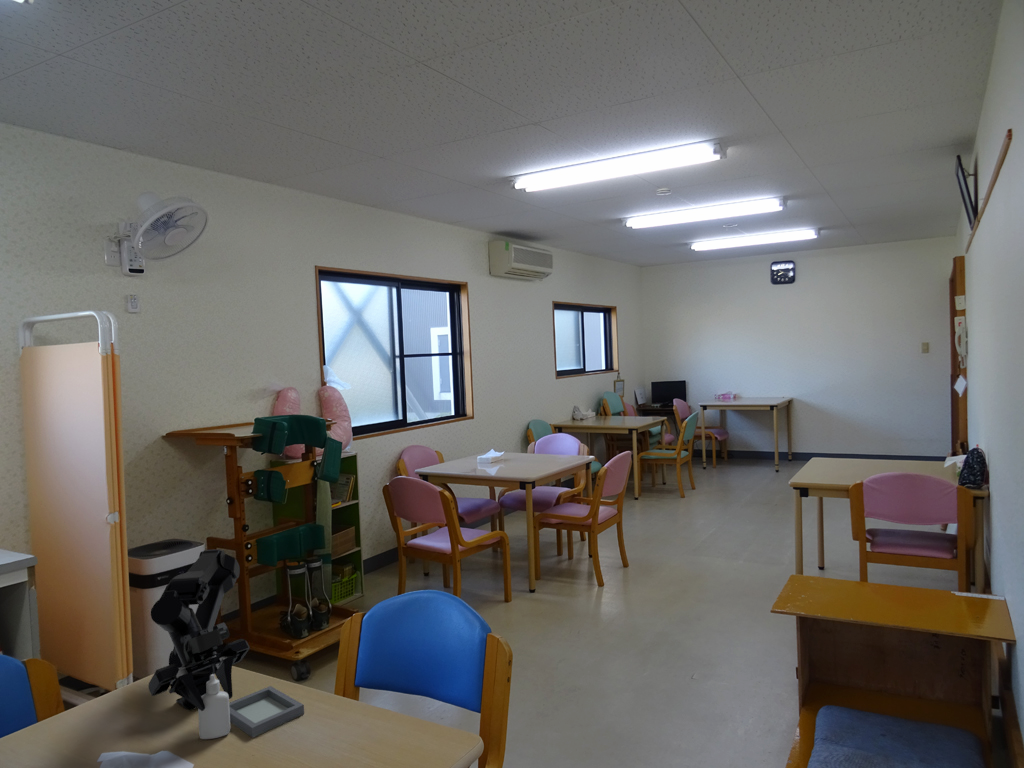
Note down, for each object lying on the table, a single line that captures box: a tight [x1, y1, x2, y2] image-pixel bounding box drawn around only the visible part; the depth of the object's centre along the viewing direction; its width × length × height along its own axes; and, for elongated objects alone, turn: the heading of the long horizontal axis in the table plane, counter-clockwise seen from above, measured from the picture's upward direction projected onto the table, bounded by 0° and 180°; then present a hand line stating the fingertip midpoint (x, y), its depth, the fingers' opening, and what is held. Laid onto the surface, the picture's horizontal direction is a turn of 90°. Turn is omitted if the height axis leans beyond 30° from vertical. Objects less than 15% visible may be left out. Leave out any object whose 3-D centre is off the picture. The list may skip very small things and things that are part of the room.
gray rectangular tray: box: [229, 685, 305, 739], centre depth 144 cm, size 13×11×2 cm
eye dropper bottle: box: [197, 673, 231, 740], centre depth 136 cm, size 4×6×12 cm
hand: (217, 703), depth 135 cm, fingers closed on eye dropper bottle, 5 cm apart
